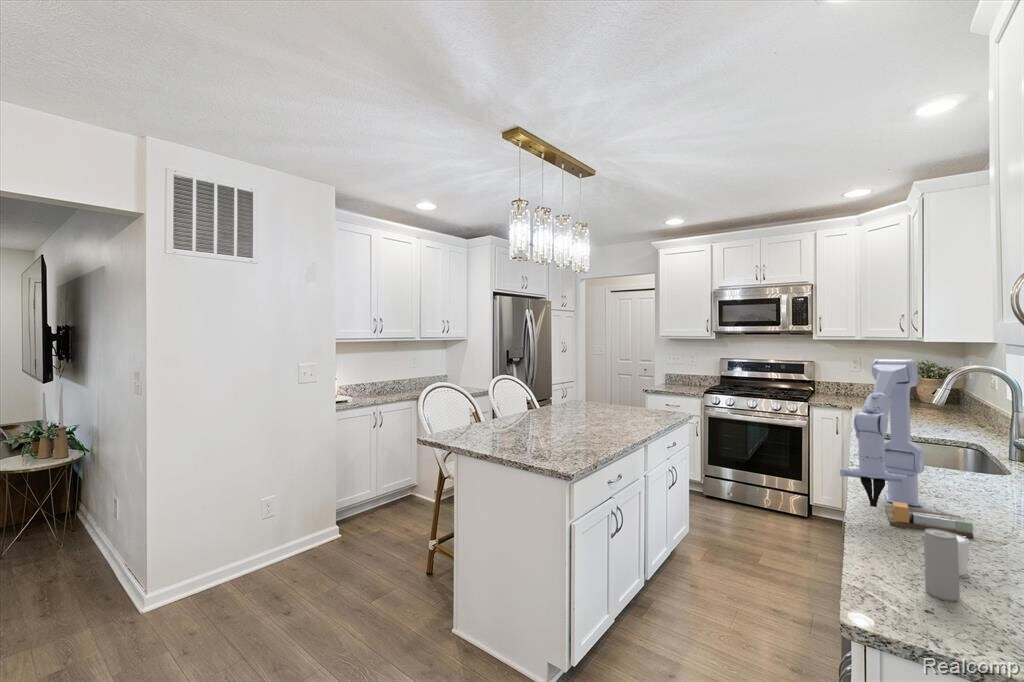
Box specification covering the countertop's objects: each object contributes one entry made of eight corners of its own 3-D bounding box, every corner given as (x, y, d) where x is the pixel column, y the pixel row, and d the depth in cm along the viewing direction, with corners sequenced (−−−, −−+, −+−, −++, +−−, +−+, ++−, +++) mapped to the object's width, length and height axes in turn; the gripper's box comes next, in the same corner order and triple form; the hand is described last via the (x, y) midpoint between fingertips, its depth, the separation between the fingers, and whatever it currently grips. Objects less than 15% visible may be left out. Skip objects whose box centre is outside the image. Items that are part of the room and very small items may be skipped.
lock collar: (892, 515, 126) (892, 501, 126) (907, 517, 124) (906, 503, 124) (894, 520, 122) (894, 505, 123) (909, 522, 121) (908, 508, 121)
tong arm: (912, 519, 123) (912, 511, 123) (963, 525, 118) (963, 518, 118) (913, 520, 122) (913, 513, 122) (965, 527, 117) (964, 519, 117)
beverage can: (966, 603, 85) (964, 538, 85) (936, 601, 86) (934, 537, 86) (948, 590, 90) (945, 529, 90) (919, 588, 91) (917, 527, 91)
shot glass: (928, 558, 103) (926, 527, 104) (971, 568, 99) (969, 535, 99) (925, 569, 99) (924, 536, 99) (970, 580, 94) (969, 545, 94)
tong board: (885, 508, 135) (884, 497, 135) (960, 519, 126) (960, 507, 126) (889, 525, 123) (889, 512, 123) (973, 538, 113) (973, 524, 114)
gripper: (839, 456, 128) (841, 504, 128) (907, 462, 120) (909, 515, 119) (839, 451, 134) (841, 498, 133) (904, 457, 125) (906, 507, 125)
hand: (873, 505), depth 127 cm, fingers closed
